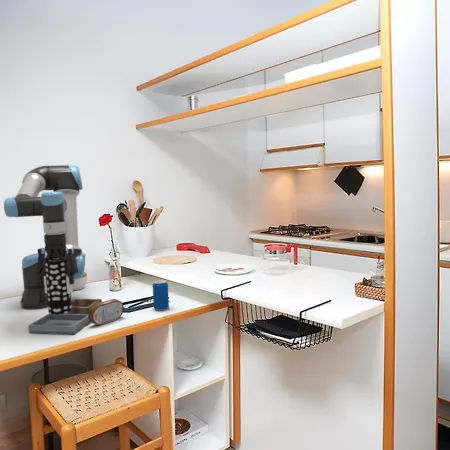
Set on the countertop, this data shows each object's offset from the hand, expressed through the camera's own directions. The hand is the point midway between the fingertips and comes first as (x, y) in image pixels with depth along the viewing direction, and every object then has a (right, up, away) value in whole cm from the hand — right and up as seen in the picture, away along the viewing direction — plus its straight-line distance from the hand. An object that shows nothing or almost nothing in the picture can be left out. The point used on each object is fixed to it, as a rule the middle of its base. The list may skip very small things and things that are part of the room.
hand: (58, 292), depth 161 cm
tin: (+17, -13, +7) cm, 22 cm away
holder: (+3, -12, +16) cm, 20 cm away
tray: (0, -14, +2) cm, 14 cm away
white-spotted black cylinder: (0, -7, +1) cm, 8 cm away
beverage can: (+36, -11, +21) cm, 43 cm away
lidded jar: (-13, -8, +58) cm, 60 cm away
